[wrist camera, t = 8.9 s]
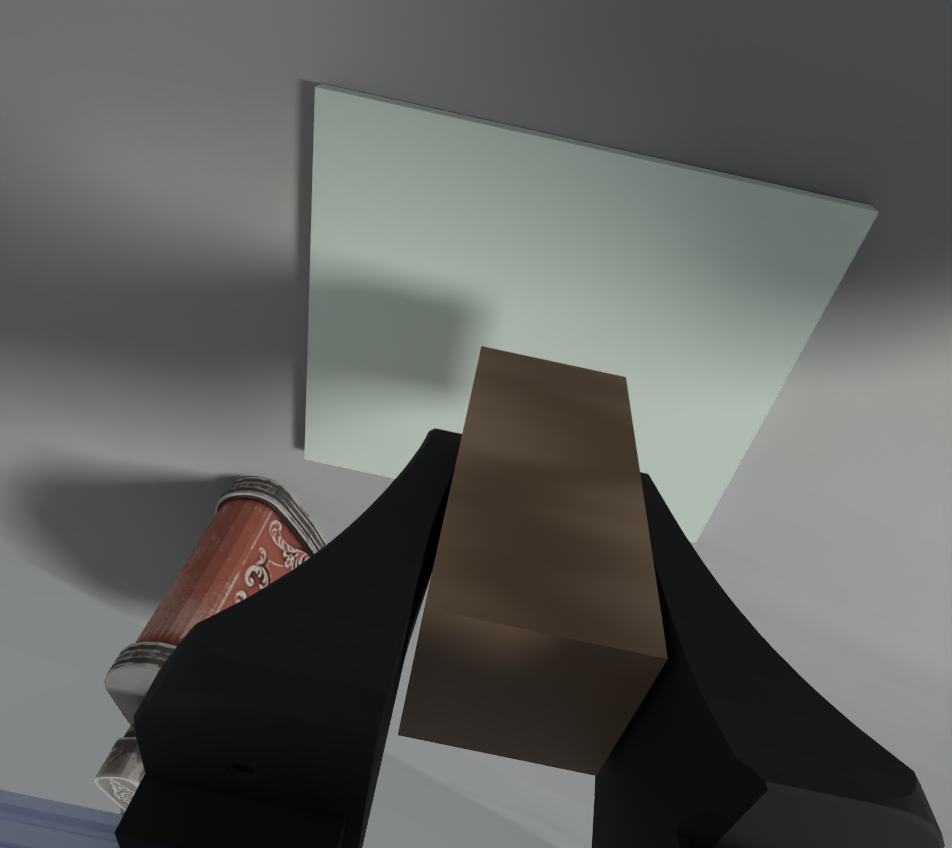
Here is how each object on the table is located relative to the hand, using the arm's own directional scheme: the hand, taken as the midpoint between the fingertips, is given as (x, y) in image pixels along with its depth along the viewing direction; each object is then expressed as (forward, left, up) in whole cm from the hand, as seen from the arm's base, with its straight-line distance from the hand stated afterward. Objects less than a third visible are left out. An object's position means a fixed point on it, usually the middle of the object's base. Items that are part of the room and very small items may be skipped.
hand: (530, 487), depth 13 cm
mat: (0, 0, -6) cm, 6 cm away
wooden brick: (0, 0, -2) cm, 2 cm away
